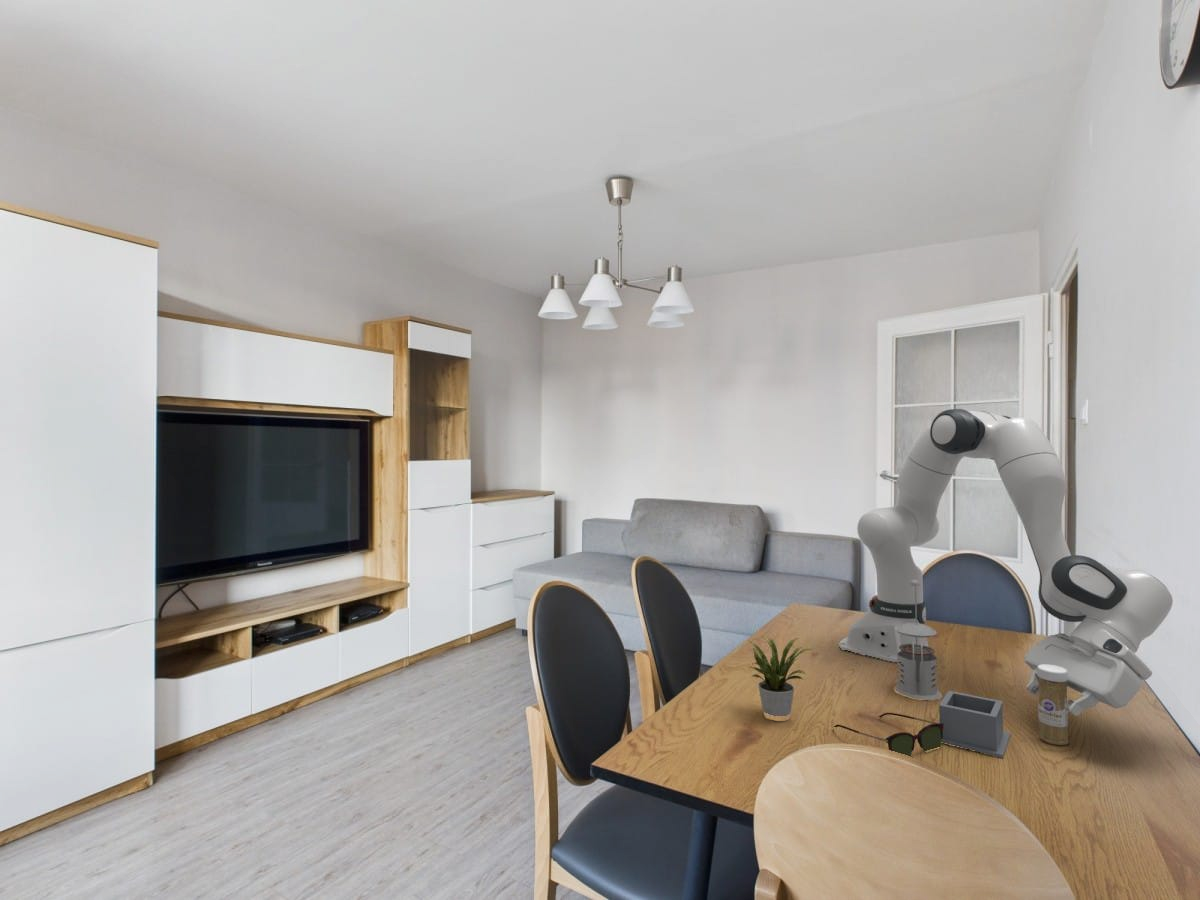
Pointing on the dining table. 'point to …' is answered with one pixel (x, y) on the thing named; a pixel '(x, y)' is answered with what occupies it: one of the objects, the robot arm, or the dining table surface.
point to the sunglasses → (911, 737)
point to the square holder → (973, 723)
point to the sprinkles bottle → (1053, 704)
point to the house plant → (776, 679)
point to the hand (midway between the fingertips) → (1049, 701)
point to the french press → (917, 662)
